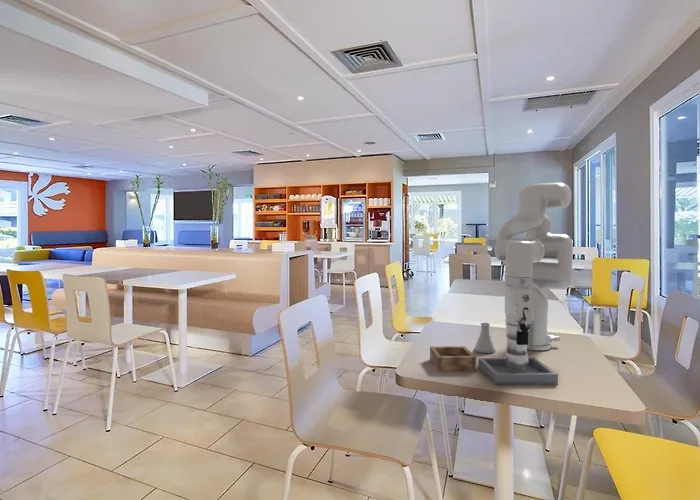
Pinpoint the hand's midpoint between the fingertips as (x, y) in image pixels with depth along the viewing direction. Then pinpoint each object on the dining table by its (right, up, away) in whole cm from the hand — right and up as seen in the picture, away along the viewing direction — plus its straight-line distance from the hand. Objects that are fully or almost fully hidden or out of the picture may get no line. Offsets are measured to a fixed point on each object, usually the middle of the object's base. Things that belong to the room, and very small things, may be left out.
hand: (516, 340), depth 119 cm
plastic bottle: (0, -9, +1) cm, 9 cm away
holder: (-17, -10, +9) cm, 22 cm away
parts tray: (0, -11, +1) cm, 11 cm away
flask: (-2, -9, +24) cm, 25 cm away
